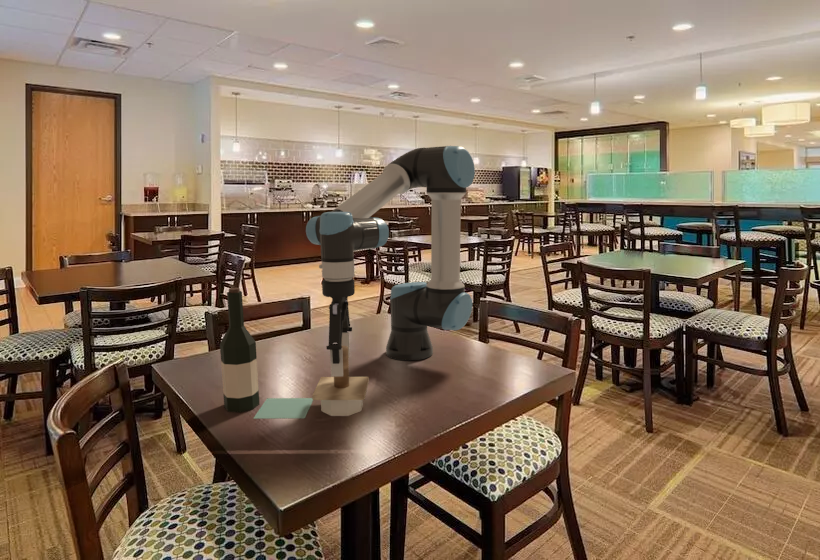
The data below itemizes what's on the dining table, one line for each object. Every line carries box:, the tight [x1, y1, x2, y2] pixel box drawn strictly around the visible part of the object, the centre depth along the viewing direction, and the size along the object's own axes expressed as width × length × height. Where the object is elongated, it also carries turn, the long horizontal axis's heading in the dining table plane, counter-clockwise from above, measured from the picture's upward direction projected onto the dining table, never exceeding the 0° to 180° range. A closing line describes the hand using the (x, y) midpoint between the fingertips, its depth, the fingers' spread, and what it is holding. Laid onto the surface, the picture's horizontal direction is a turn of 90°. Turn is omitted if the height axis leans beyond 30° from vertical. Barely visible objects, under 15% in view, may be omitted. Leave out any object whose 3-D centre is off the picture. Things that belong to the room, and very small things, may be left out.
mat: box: [253, 397, 314, 420], centre depth 131 cm, size 12×12×1 cm
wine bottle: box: [219, 287, 260, 414], centre depth 130 cm, size 8×8×30 cm
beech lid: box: [311, 346, 370, 401], centre depth 129 cm, size 12×12×11 cm
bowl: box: [320, 400, 364, 417], centre depth 130 cm, size 10×10×5 cm
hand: (341, 366), depth 129 cm, fingers open, 12 cm apart
